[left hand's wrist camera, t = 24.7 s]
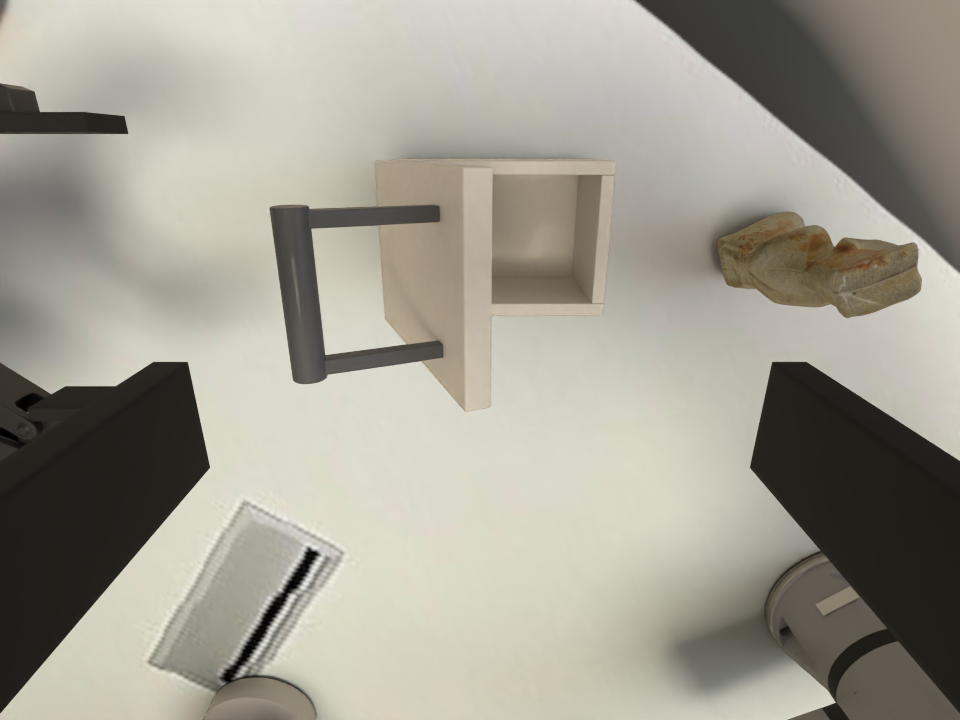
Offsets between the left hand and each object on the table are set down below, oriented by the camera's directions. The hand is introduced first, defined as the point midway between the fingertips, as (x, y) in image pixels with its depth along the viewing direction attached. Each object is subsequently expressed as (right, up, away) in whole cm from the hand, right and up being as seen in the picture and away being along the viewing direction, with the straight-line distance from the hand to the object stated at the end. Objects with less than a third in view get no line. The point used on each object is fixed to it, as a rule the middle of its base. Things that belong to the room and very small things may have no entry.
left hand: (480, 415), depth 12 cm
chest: (+1, +13, +33) cm, 35 cm away
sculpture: (+23, +11, +33) cm, 42 cm away
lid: (-2, +6, +17) cm, 18 cm away
